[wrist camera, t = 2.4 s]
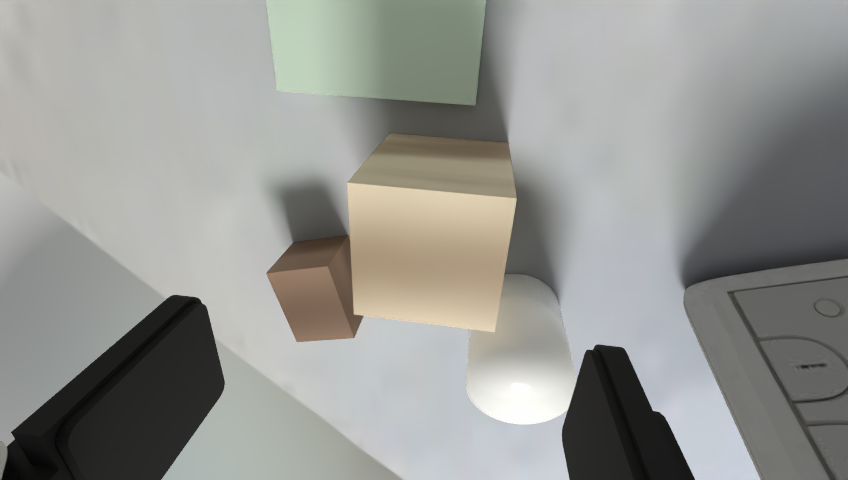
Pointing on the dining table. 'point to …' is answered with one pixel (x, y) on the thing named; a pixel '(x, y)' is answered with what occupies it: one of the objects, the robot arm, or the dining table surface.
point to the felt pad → (378, 48)
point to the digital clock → (781, 363)
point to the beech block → (431, 230)
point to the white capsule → (522, 357)
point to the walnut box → (317, 289)
